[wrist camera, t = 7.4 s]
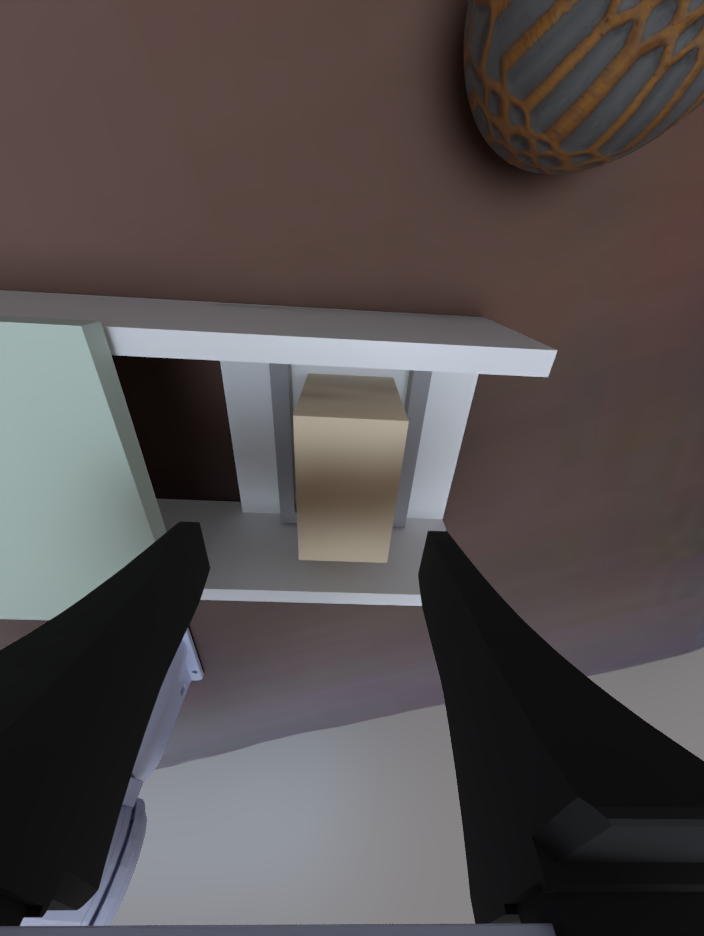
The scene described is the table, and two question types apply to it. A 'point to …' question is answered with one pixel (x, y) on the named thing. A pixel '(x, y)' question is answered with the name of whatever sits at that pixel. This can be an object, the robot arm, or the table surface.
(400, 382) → the housing
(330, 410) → the tan rectangular block
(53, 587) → the lid
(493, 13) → the vase
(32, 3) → the table surface
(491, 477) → the table surface
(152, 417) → the table surface
